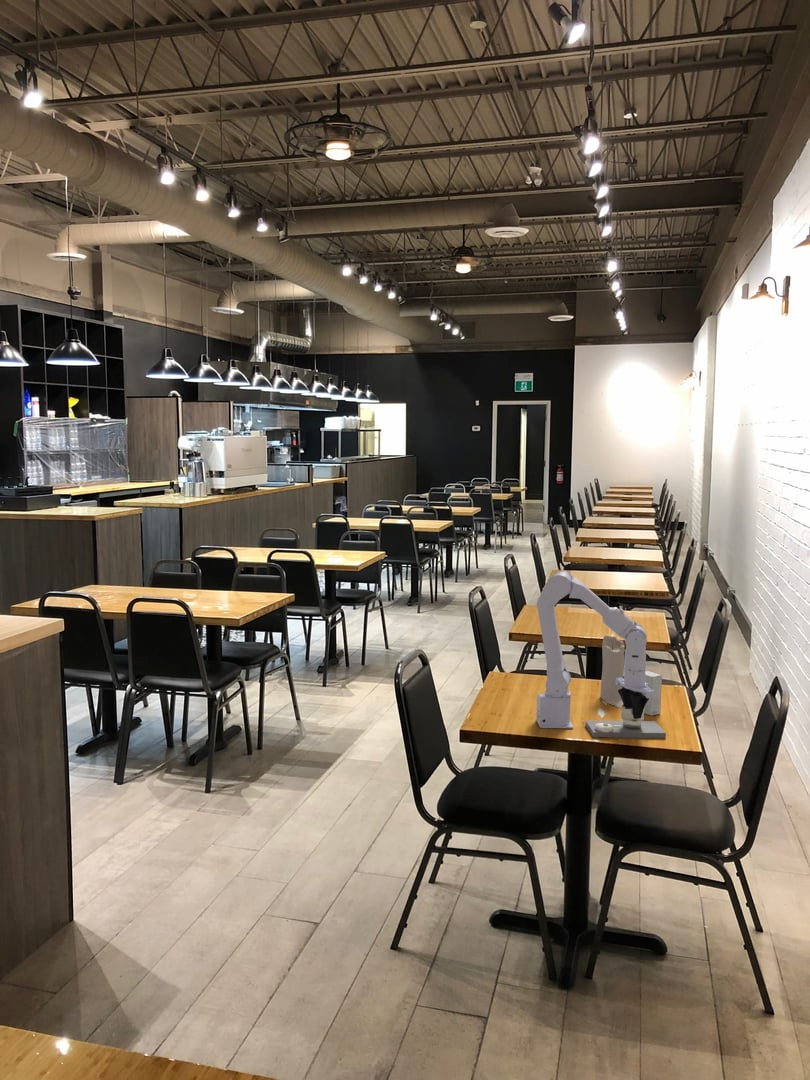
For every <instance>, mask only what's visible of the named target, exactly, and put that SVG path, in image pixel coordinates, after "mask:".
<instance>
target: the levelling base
mask: <svg viewBox="0 0 810 1080" xmlns="http://www.w3.org/2000/svg"><path fill="white" fill-rule="evenodd" d="M584 724H585V728H586V729H587V730H588V732H589V731H590V732H589V733H590V735H591V734H592V735H591V736H592V737H609V738H610V739H666V737H667V733H666V731H665V730H664V729H663V728H662V727H661V726H660V725H659V724H658V722H656V720H654V721H653V720H642V722H641V728H637V729H632V728H627V727H624V726H623V720H585V723H584ZM611 737H612V738H611ZM613 737H614V738H613ZM609 738H608V739H609Z"/></svg>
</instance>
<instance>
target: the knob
mask: <svg viewBox="0 0 810 1080" xmlns="http://www.w3.org/2000/svg"><path fill="white" fill-rule="evenodd" d="M620 709H621V712H620V713H621V714H620V718H621V720H622V721H623V726H624V727H627V728H632V729H637V728H641V722H642V721H645V713H644V710H643V713H642V717H641V718H639V719H634V717H633V708H628V707H625V705H622V708H620Z"/></svg>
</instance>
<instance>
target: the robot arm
mask: <svg viewBox="0 0 810 1080" xmlns="http://www.w3.org/2000/svg"><path fill="white" fill-rule="evenodd" d="M568 595H569V599H579V600H581V601H582V602H583V603H585V604H586V605H587V606H589V607H590V608H591V609H592V610H594V611H595V612H596V613H597V614H599V615H600V616H601V617H602V623H603V624H604V625H605V626H606V627H608V628H609V629H610V630H611V631H613V633H614V634H616V635H617V636H618V637H620V638H621V639H624V644H625V651H624V673H623V678H616V685H620V686H622V689H619V690H618V693H619V694H620V696H621V699H622V702H623V705H625V707H628V708H633V717H634V719H639V718H641V717H642V713H643V710H644V707H645V705H646V703H647V701H648V700H649V698H654V691H653V690H651V689H650V688H649V687H648V684H647V683H645V671H647V670H646V667H647V665H646V661H647V653H646V650H647V647H646V646H647V643H648V639H647V637H648V635H647V631H646V629H645V628H644V627H643V626H642V625H641V624H639V622H638V621H636V620H633V619H631V618H630V617H629V616H628V615H626V614H625V610H624V609H623V608H620V609H619V608H618V607H616V606H614V607H612V606H611V607H610V606H609V605H608V604H607V603H605V602H604V600H602V599H601V598H600V597H599V596H598V595H597V594H596V593H594V592H593V591H592V590H591V588H589V587H588V586H587V585H586V584H585V583H583V582H582V581H581V580H579V578H576V577H575V576H573V575H572V574H571V573H570V572H568V571H566V570H559V571H557V572H555V573H554V574H553V575H552V576H551V577H550V578H549V579H548V580H547V582H546V583H545V584H544V586H543V588H542V591H541V593H540V594H539V597H538V599H537V601H536V608H537V614H538V619H539V624H540V625H539V626H540V630H541V632H540V633H541V637H542V642H543V643H542V645H543V649H544V655H545V659H546V660H545V662H546V677H547V678H546V681H545V693H539V694H537V697H536V716H535V717H536V718H535V721H536V723H537V725H538V726H539V728H540V729H574V725H573V723H572V722H571V701H572V700H571V697H572V693H571V692H570V690H569V686H570V683H571V681H572V677H571V674H570V672H569V671H568V669H567V667H566V663H565V660H564V656H563V650H562V644H561V638H560V634H559V633H560V632H559V626H558V620H557V615H556V609H555V606H556V604H558V602H559V601H560V600H561V599H563V598H564V597H566V596H568Z"/></svg>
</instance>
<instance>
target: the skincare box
mask: <svg viewBox="0 0 810 1080" xmlns="http://www.w3.org/2000/svg"><path fill="white" fill-rule="evenodd" d="M645 683H647V684H648V687H649V688H650V689H651V690H653V691H654V698H649V700H648V701H647V703H646V705H645V707H644V715H648V716H655V715H656V716H657V715H660V714H661V712H662V711H661V709H662V707H661V706H662V705H661V704H662V688H663V685H662V683H663V675H662V674H659V673H656V672H652V671H649V670H645Z"/></svg>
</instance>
